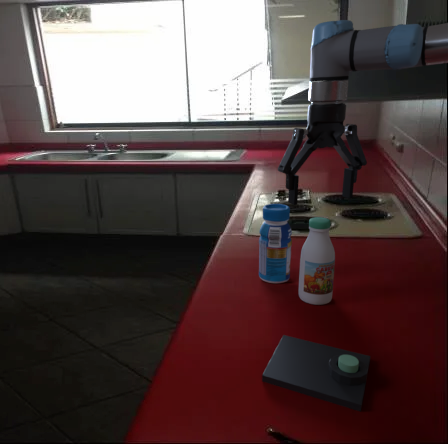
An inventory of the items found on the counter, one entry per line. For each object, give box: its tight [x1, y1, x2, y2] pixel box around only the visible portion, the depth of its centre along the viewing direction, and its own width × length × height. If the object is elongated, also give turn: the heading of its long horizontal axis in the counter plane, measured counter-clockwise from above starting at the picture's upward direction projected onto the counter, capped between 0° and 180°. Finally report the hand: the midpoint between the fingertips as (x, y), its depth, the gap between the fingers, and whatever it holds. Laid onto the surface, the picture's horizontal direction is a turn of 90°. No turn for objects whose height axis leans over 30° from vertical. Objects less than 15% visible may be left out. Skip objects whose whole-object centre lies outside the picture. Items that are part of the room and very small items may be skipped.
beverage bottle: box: [258, 203, 293, 284], centre depth 110 cm, size 8×8×20 cm
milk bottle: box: [297, 216, 336, 306], centre depth 98 cm, size 8×8×20 cm
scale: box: [261, 334, 372, 412], centre depth 75 cm, size 16×14×3 cm
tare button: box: [338, 355, 359, 373], centre depth 72 cm, size 3×3×2 cm
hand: (320, 200), depth 94 cm, fingers open, 13 cm apart
